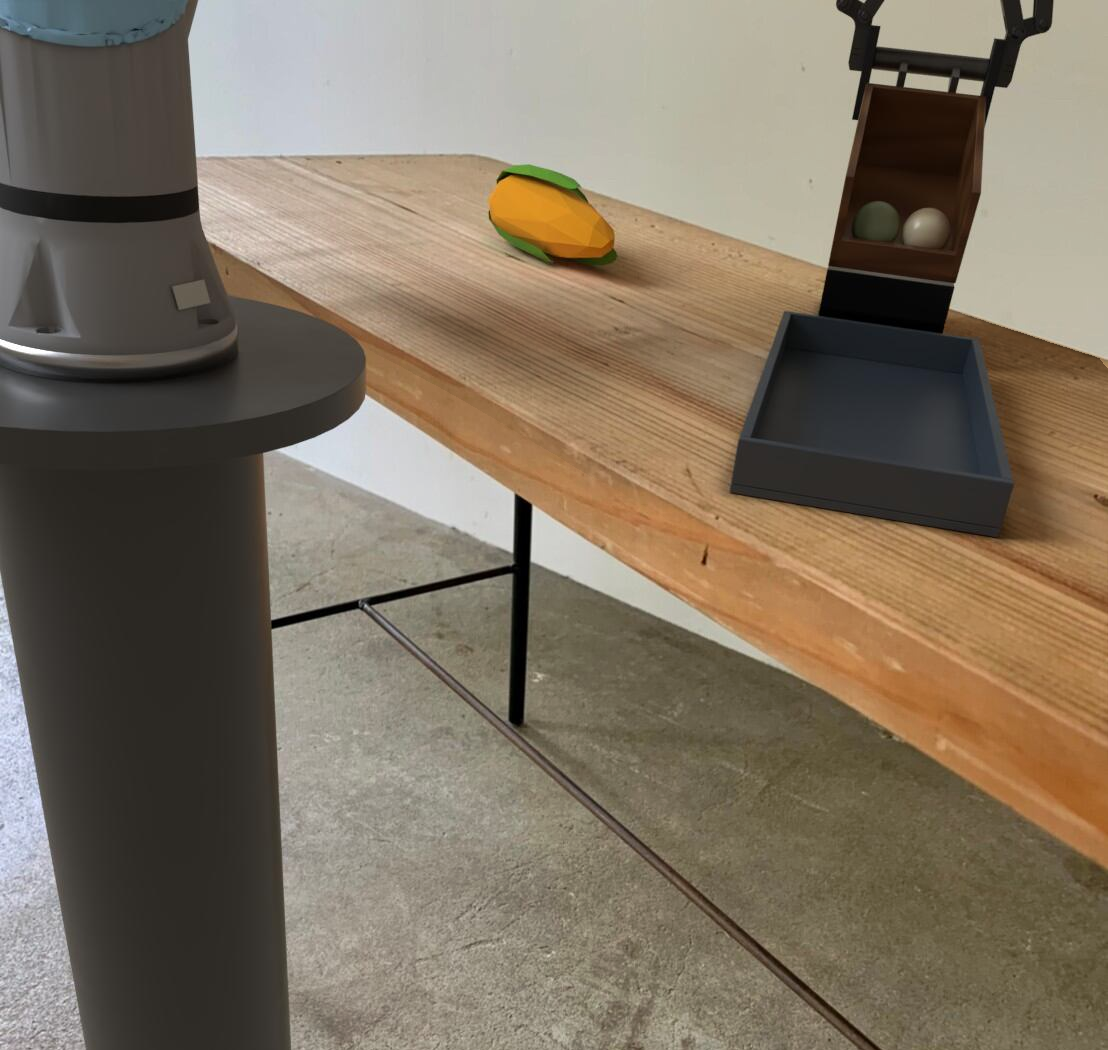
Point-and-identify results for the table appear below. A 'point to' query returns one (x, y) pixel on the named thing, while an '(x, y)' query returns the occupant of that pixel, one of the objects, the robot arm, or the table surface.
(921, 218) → the ball ivory
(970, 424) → the tray
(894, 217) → the ball sage
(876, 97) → the brown wooden tipping box
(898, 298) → the stand
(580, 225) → the corn
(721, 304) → the table surface
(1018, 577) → the table surface
